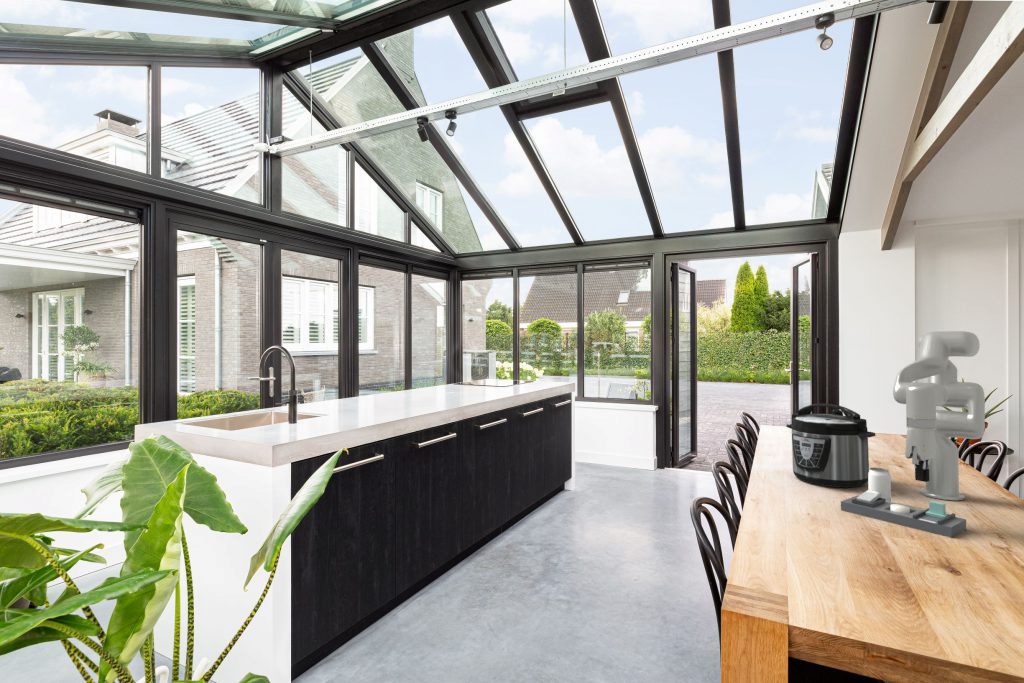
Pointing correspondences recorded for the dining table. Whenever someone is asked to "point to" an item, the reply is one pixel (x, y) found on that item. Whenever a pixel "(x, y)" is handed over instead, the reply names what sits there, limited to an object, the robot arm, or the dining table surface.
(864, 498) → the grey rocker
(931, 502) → the teal slide switch
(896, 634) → the dining table surface
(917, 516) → the control panel
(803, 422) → the pressure cooker
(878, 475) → the can
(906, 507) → the push button
